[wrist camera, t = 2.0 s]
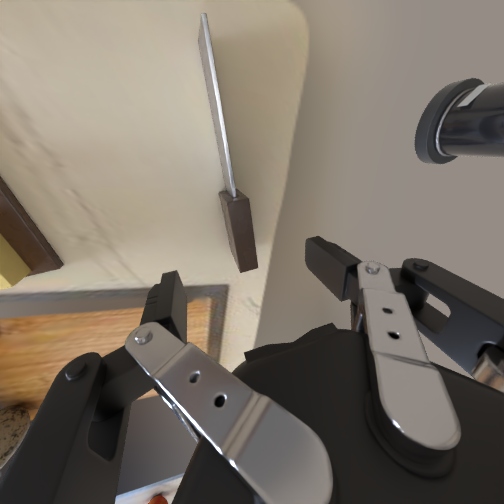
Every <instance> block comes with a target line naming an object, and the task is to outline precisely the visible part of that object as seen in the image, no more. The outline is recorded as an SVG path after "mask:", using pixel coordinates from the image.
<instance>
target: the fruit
mask: <svg viewBox="0 0 504 504" xmlns="http://www.w3.org/2000/svg"><path fill="white" fill-rule="evenodd" d="M148 504H168V502H167V500H166V499H165V498H164V497H163V496H161V495H158V496H155V497H153V498H152V500H151V501H150V502H149V503H148Z"/></svg>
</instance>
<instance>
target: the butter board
mask: <svg viewBox="0 0 504 504" xmlns="http://www.w3.org/2000/svg"><path fill="white" fill-rule="evenodd" d="M0 234H1V235H2V236H3V237H4V238H5V240H6V241H7V242H8V243H9V244H10V246H11V247H12V248H13V249H14V250H15V252H16V253H17V254H18V255H19V256H20V257H21V259H22V260H23V261H24V262H25V263H26V265H27V266H28V267H29V268H30V269H31V271H32V272H31V273H29V274H28V275H27V276H31V275H35V274H39V273H44V272H48V271H52V270H57V269H60V268H61V267H62V266H63V263H62V262H61V260H60V259H59V258H58V256H57V255H56V254H55V252H54V251H53V249H52V248H51V247H50V245H49V244H48V242H47V241H46V240H45V238H44V237H43V236H42V234H41V233H40V231H39V230H38V229H37V227H36V226H35V224H34V223H33V222H32V220H31V219H30V218H29V216H28V215H27V213H26V212H25V211H24V209H23V208H22V207H21V205H20V204H19V202H18V201H17V200H16V198H15V197H14V195H13V194H12V193H11V191H10V190H9V189H8V187H7V186H6V184H5V183H4V182H3V180H2V179H1V177H0ZM27 276H25V277H27Z"/></svg>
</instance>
